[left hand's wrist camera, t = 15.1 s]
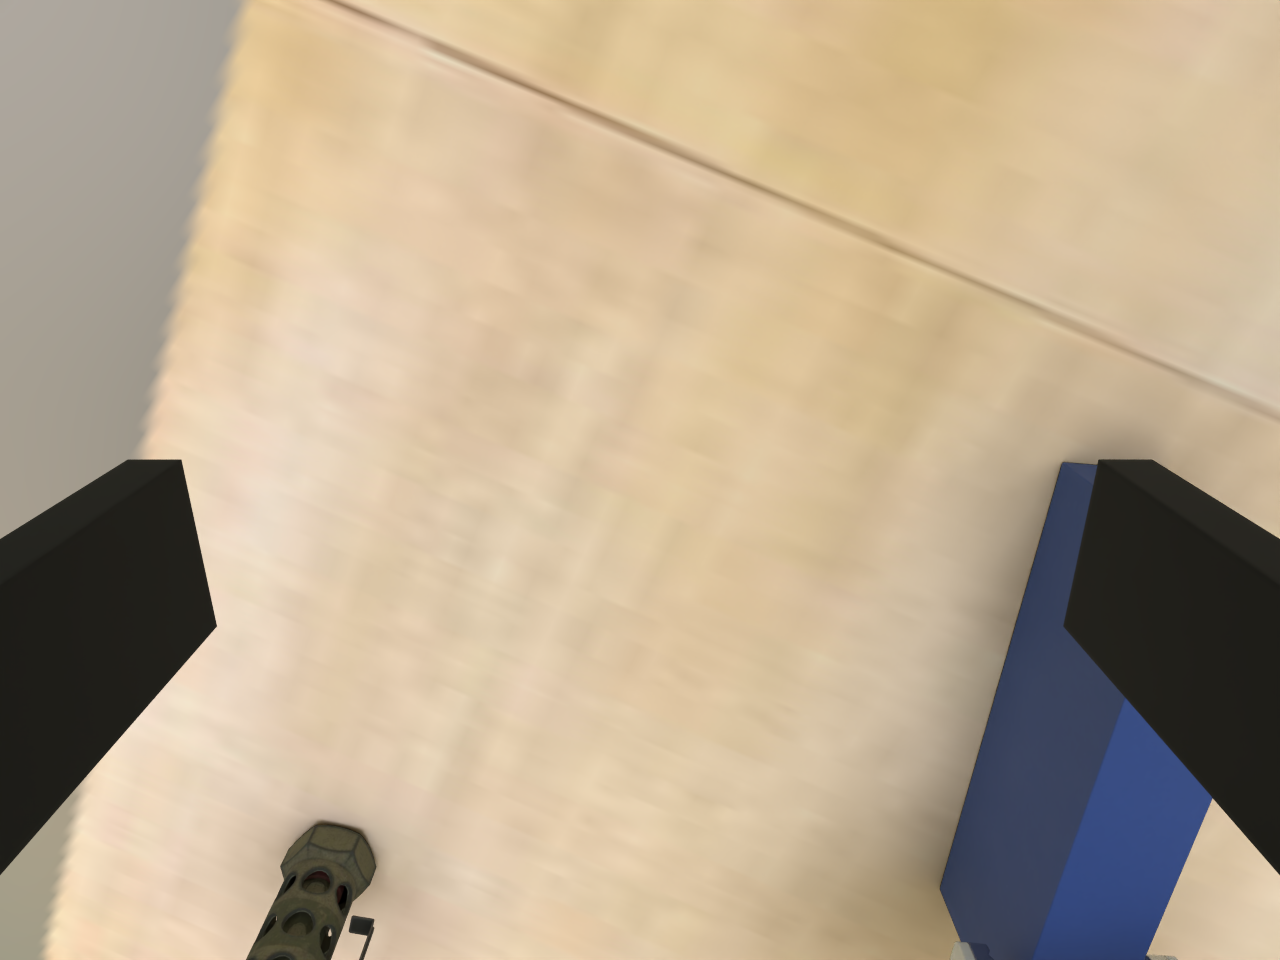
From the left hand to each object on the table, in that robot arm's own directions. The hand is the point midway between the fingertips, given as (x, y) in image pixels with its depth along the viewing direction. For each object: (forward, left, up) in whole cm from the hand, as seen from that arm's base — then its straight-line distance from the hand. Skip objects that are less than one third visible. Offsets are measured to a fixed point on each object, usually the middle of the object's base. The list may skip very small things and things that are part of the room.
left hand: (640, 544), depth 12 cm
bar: (-7, +30, -27) cm, 41 cm away
